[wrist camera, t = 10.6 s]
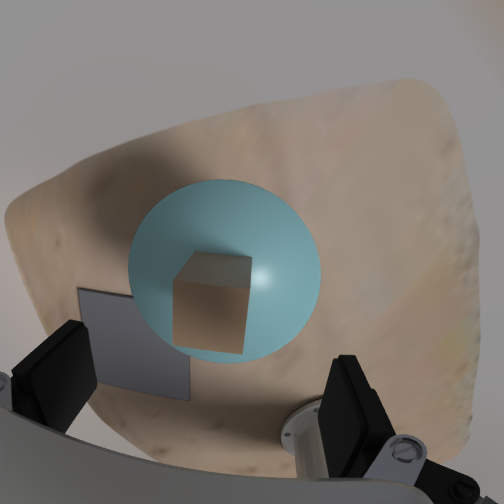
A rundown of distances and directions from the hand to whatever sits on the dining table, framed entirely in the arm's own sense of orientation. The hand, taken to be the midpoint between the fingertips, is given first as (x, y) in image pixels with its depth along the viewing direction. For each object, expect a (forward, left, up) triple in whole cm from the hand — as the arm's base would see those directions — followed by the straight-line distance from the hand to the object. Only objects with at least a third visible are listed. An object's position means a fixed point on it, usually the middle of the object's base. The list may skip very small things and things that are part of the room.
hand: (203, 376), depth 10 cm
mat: (+11, +13, -19) cm, 26 cm away
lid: (0, 0, -9) cm, 9 cm away
